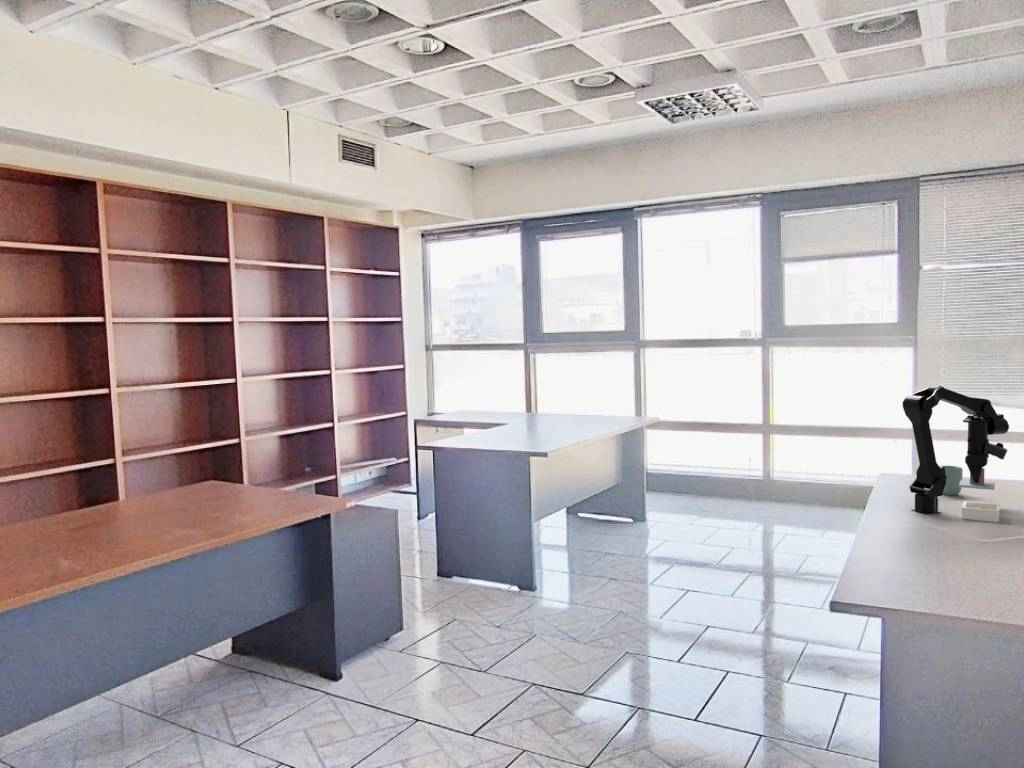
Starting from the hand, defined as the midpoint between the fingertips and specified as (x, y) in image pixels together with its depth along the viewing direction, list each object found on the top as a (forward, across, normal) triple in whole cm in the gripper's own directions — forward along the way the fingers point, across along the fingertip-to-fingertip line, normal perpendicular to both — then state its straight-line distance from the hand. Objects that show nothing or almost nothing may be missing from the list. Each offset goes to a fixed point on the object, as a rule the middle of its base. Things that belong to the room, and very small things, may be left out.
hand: (976, 481), depth 264 cm
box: (+9, -16, -2) cm, 19 cm away
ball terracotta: (+8, -14, -2) cm, 17 cm away
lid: (+2, 0, 0) cm, 2 cm away
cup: (+9, +20, +9) cm, 24 cm away
